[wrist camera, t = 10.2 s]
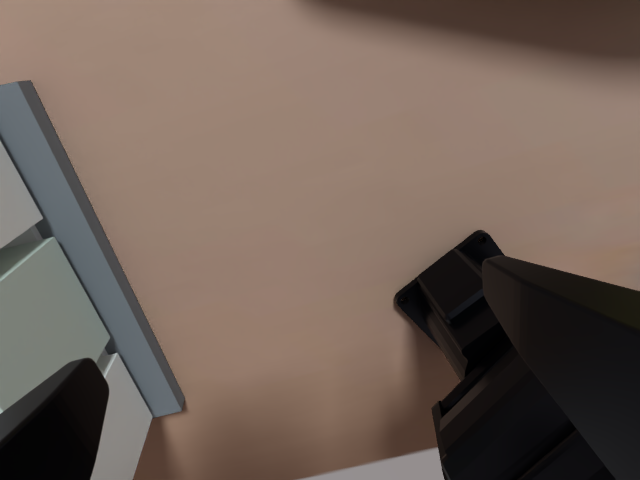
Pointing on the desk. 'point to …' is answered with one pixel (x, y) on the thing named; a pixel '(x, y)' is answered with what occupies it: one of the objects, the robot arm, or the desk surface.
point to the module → (42, 318)
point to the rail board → (83, 275)
